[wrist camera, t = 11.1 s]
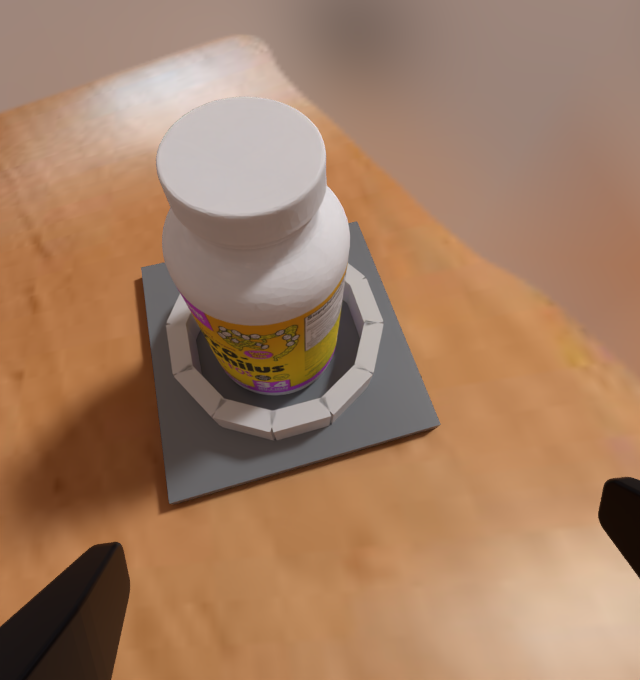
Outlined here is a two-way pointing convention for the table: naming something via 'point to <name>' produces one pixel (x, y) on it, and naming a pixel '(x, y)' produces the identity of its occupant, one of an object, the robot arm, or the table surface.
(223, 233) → the supplement bottle
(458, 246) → the table surface
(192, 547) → the table surface
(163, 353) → the socket plate
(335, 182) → the table surface
